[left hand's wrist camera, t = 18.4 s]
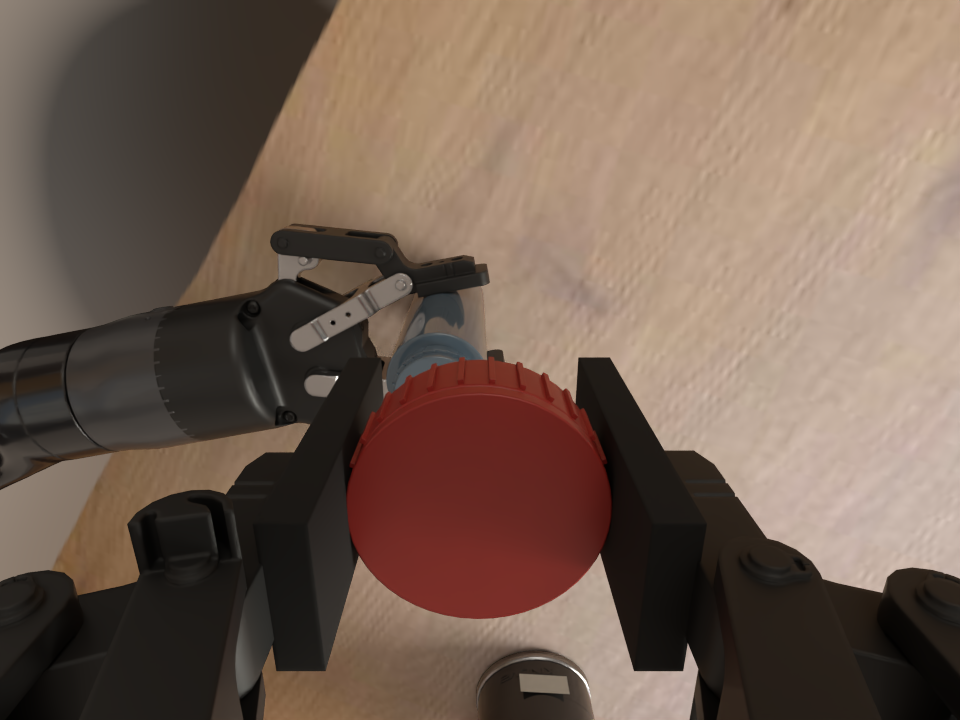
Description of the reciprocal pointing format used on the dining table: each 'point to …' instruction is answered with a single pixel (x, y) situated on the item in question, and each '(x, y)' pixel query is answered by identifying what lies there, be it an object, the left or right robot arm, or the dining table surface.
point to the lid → (478, 490)
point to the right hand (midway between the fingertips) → (494, 317)
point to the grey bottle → (439, 334)
